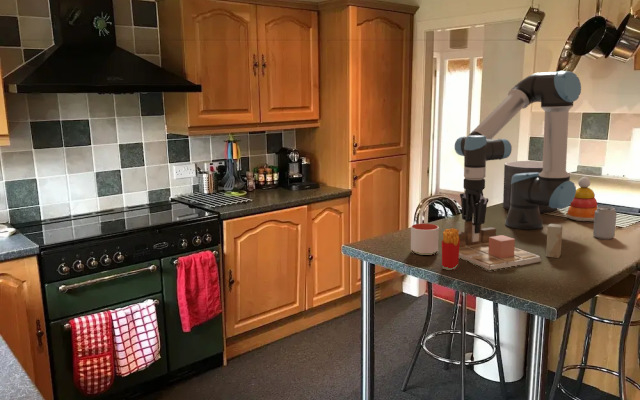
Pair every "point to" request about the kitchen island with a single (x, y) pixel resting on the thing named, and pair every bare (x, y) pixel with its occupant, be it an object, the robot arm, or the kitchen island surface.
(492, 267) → the lane board
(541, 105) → the robot arm
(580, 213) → the stacking toy
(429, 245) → the cup
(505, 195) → the planter
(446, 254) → the french fries
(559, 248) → the box
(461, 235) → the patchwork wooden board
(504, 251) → the cube
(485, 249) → the brown upright blocks
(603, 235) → the can
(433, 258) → the kitchen island surface
